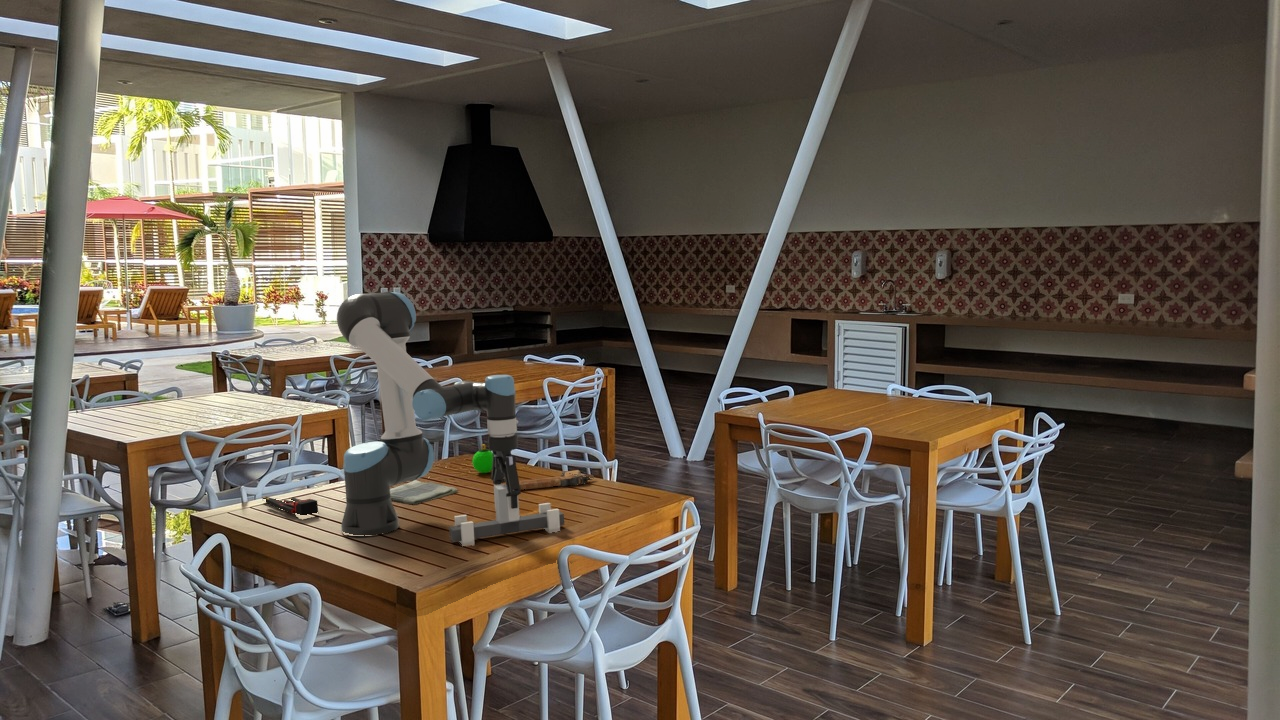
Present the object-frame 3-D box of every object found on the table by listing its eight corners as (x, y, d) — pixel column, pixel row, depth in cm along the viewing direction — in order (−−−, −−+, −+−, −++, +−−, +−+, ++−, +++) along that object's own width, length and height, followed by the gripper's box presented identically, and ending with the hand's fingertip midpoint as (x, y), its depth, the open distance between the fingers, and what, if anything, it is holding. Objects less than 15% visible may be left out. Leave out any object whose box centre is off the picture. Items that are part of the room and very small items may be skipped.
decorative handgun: (503, 476, 306) (508, 484, 292) (587, 467, 313) (596, 474, 299) (504, 486, 307) (509, 494, 292) (588, 476, 313) (597, 484, 299)
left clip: (462, 546, 237) (461, 523, 236) (455, 538, 245) (454, 516, 244) (474, 545, 238) (473, 522, 237) (467, 536, 246) (465, 514, 245)
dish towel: (413, 507, 281) (413, 496, 281) (376, 499, 292) (376, 489, 291) (460, 493, 296) (459, 483, 295) (423, 487, 307) (422, 477, 306)
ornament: (500, 470, 324) (499, 442, 323) (490, 476, 316) (488, 447, 315) (479, 470, 326) (478, 442, 325) (468, 475, 319) (467, 446, 318)
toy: (257, 510, 290) (298, 521, 268) (256, 494, 289) (296, 504, 268) (284, 504, 295) (326, 515, 274) (282, 489, 295) (324, 498, 273)
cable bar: (453, 542, 238) (450, 496, 237) (449, 538, 242) (447, 492, 240) (564, 524, 250) (562, 481, 249) (559, 521, 253) (557, 478, 252)
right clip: (549, 533, 246) (548, 511, 245) (539, 525, 254) (538, 504, 253) (560, 531, 247) (559, 509, 246) (550, 524, 255) (549, 502, 254)
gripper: (530, 440, 233) (534, 523, 235) (504, 425, 256) (508, 501, 258) (501, 443, 230) (505, 527, 232) (477, 428, 253) (481, 505, 255)
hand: (507, 514), depth 245 cm, fingers open, 13 cm apart
